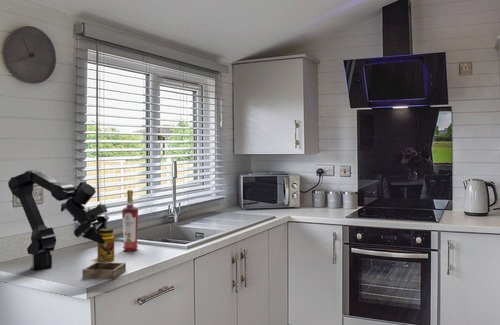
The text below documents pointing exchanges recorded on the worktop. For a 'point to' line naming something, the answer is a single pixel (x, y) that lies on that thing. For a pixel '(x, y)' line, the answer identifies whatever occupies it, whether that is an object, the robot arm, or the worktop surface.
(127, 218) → the liquor
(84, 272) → the walnut tray
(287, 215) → the worktop surface
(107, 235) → the condiment
